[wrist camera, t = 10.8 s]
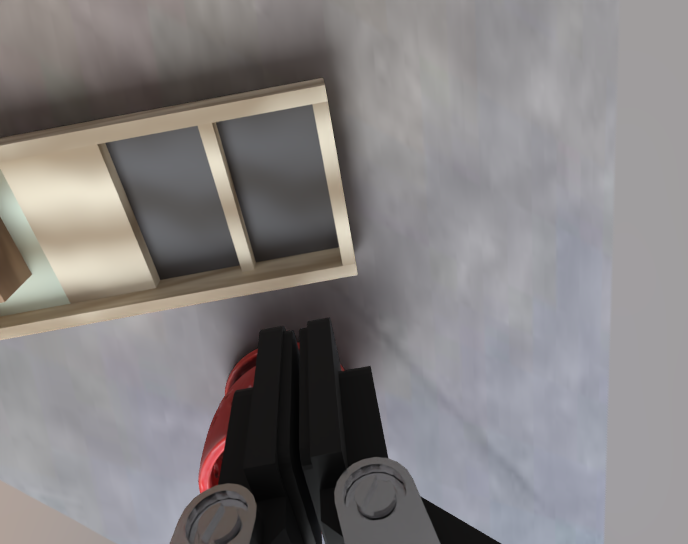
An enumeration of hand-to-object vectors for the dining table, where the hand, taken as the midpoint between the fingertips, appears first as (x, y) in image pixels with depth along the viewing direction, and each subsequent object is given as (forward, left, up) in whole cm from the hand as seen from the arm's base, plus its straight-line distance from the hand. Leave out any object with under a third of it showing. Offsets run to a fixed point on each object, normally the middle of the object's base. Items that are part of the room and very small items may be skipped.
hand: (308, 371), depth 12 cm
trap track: (+4, -14, -27) cm, 31 cm away
